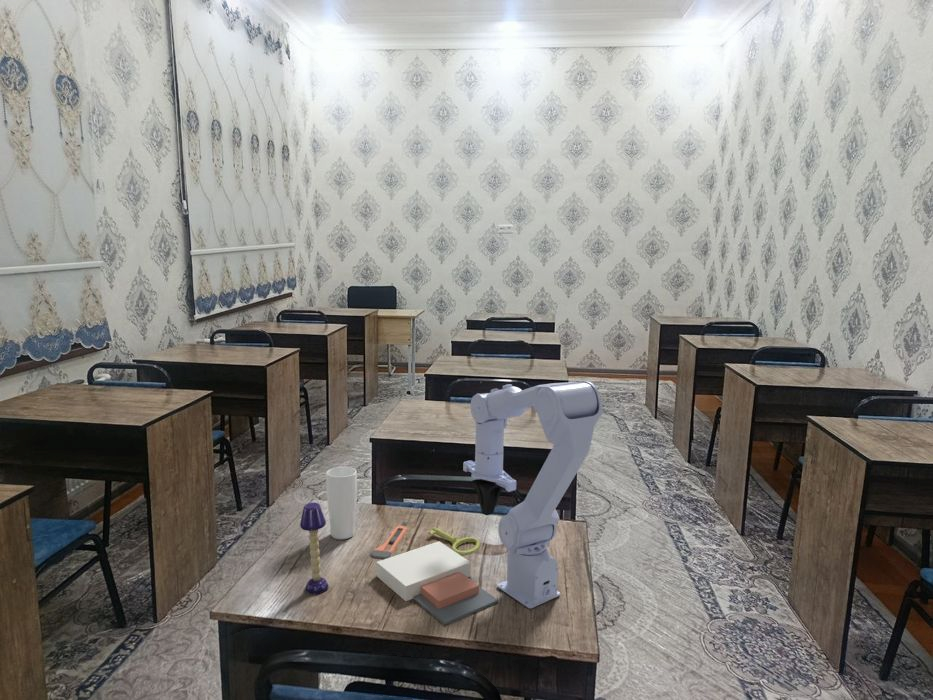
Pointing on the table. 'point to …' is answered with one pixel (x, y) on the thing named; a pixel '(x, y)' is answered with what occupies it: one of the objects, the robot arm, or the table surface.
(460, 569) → the white rectangular block
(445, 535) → the key
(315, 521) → the toy lamp
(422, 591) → the pink rubber eraser
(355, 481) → the drinking glass
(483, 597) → the mat
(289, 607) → the table surface
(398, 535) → the utility knife
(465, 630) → the table surface
